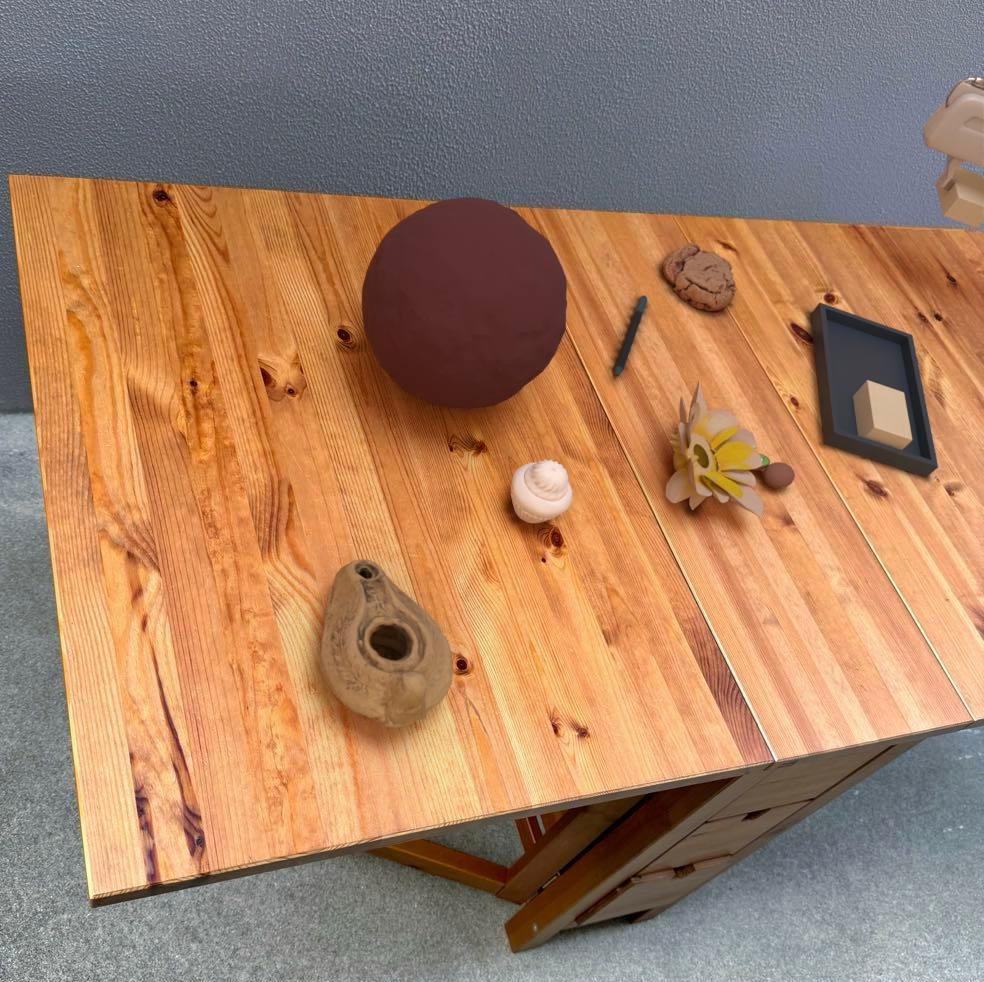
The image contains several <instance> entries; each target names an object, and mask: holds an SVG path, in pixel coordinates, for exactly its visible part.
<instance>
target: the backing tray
mask: <svg viewBox="0 0 984 982" xmlns="http://www.w3.org/2000/svg"><path fill="white" fill-rule="evenodd" d="M810 320H811V321H810V322H811V330H812V331H811V332H812V340H813V349H814V359H815V370H816V379H817V389H818V398H819V400H818V401H819V408H820V417H821V428H822V439H823V444H824V445H827V446H830V447H833V448H836V449H839V450H842V451H845V452H848V453H851V454H855V455H857V456H860V457H863V458H866V459H869V460H872V461H875V462H878V463H882V464H885V465H887V466H891V467H894V468H896V469H900V470H903V471H905V472H909V473H911V474H915V475H918V476H921V477H922V478H923V477H924V478H928V477H929V476H930V475H931V474H932V473H934V472H935V471H936V470H937V469H938V468H939V464H938V458H937V453H936V449H935V443H934V437H933V433H932V427H931V422H930V417H929V412H928V408H927V401H926V397H925V393H924V386H923V381H922V376H921V371H920V367H919V361H918V357H917V356H918V355H917V352H916V348H915V347H916V346H915V342H914V341H915V340H914V337H913V334H911V333H908V332H905V331H902V330H900V329H896V328H894V327H891V326H888V325H885V324H882V323H879V322H877V321H873V320H871V319H868V318H866V317H863V316H861V315H856V314H854V313H851V312H848V311H846V310H843V309H840V308H837V307H835V306H831V305H829V304H826V303H822V302H819V303H818V304H817V305H816V306H815V308H814V309H813V311H812V312H810ZM867 380H869V381H872V382H874V383H877V384H880V385H883V386H886V387H889V388H892V389H895V390H898V391H901V392H904V395H905V401H906V407H907V412H908V418H909V423H910V429H911V435H912V441H911V442H910V443H909V444H908V445H907V446H906V447H905V448H904V449H903V450H899V449H896V448H893V447H890V446H887V445H884V444H881V443H878V442H875V441H872V440H869V439H866V438H863V437H860V436H858V432H857V425H856V417H855V410H854V402H853V396H854V394H855V393H856V392H857V391H858V390H859V389H860V388H861V387H862V386H863V384H864V383H865V382H866V381H867Z"/></svg>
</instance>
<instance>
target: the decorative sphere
mask: <svg viewBox="0 0 984 982" xmlns="http://www.w3.org/2000/svg"><path fill="white" fill-rule="evenodd" d="M567 283H568V281H567V276H566V274H565V271H564V268H563V265H562V264H561V262H560V258H559V257H558V255H557V253H556V251H555V250H554V248H553V247H552V244H551V243H550V241H549V240H548V239H547V238H546V236H544V235H543V234H542V233H540V232H539V231H538V230H537V229H536V228H534V227H533V226H531V225H530V224H529V223H528V222H527V220H526V219H525V218H524V217H523V216H521V215H520V214H519V213H518V211H517V210H515V209H513V208H512V207H508V206H505V205H502V204H501V203H499V202H498V201H496V200H492V199H486V198H481V197H473V196H464V197H455V198H447V199H441V200H439V201H436V202H433V203H430V204H428V205H426V206H425V207H423V208H420V209H417V210H416V211H414V212H413V213H411V214H409V215H408V216H406V217H405V218H403V219H401V220H400V221H398V222H396V224H395V225H394V226H393V227H392V228H391V229H389V230H388V231H387V233H385V234H384V236H383V237H382V239H381V240H380V242H379V244H378V246H377V248H376V250H375V251H374V253H373V255H372V257H371V260H370V261H369V264H368V266H367V269H366V271H365V276H364V280H363V284H362V290H361V314H362V324H363V325H362V327H363V330H364V334H365V338H366V340H367V341H368V343H369V346H370V348H371V351H372V353H373V355H374V357H375V358H376V360H377V362H378V364H379V366H380V367H381V368H382V370H383V371H384V372H385V373H386V374H387V375H388V377H389V378H390V379H391V380H392V381H393V382H394V383H395V384H396V385H397V386H398V387H399V388H401V389H402V390H403V391H405V392H407V393H409V394H412V395H413V396H416V397H418V398H420V399H423V400H424V401H425V402H427V403H429V404H431V405H434V406H439V407H443V408H447V409H453V410H476V409H477V410H478V409H483V408H488V407H494V406H496V405H498V404H501V403H503V402H506V401H508V400H509V399H511V398H512V397H514V396H516V395H517V394H518V393H519V392H520V391H521V390H522V389H524V388H525V386H527V385H528V384H529V383H531V382H532V381H533V380H535V379H536V378H537V377H538V376H539V375H541V374H542V373H543V372H544V371H545V370H546V369H547V367H548V366H549V365H550V364H551V362H552V360H553V358H554V357H555V356H556V353H557V351H558V349H559V346H560V345H561V342H562V340H563V338H564V335H565V333H566V329H567V308H568V300H567V290H568V284H567Z"/></svg>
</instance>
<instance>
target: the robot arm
mask: <svg viewBox="0 0 984 982" xmlns="http://www.w3.org/2000/svg"><path fill="white" fill-rule="evenodd" d="M922 138H923V141H924V145H925V147H926V148H929V149H930V150H934V151H936V152H939V153H942V154H944V155H946V161H945V169H944V170H945V172H944V173H943V174H942V173H941V174H942V176H941V177H940V178H939V177H938V178H939V180H938V187H939V188H942V189H945V190H948V191H949V190H950V189H951V188H952V186H954V184H956V183H957V178H956V174H955V173H954V168H955V166H956V167H961V166H962V165H963V163H964V162H965V163H968V164H971V165H974V166H976V167H979V168H982V169H984V76H980V75H975V76H974V77H966V78H964V79H961V80H959V81H958V82H957V83H955V84H954V86H953V87H952V89H951V90H950V91H949V93H948V94H947V96H946V98H945V100H944V101H943V102H942V103H941V104H940V105H939V106H938V107H937V108H936V109H935V110H934V112H933V113H932V114H931V115H930V116H929V118H928V119H927V120H926V121H925V122H924V123H923V126H922Z"/></svg>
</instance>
